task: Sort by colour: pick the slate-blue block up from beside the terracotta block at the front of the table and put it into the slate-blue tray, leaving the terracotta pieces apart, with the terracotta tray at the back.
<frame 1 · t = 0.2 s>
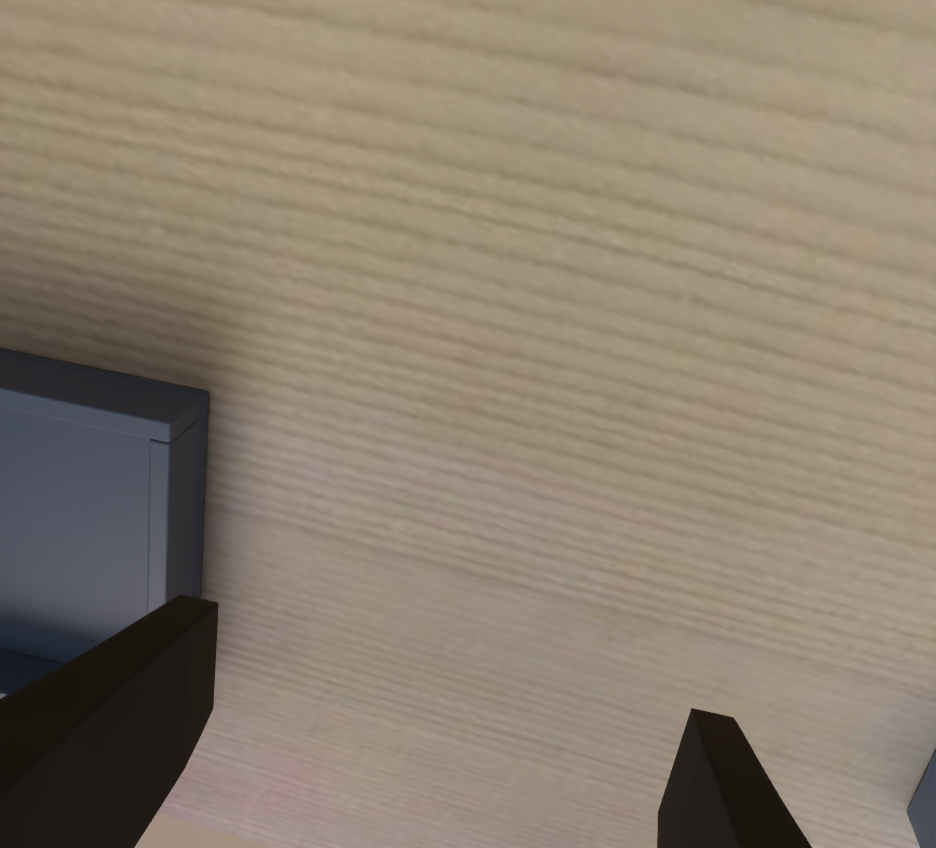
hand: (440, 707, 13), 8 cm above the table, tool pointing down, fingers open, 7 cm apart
blue tray: (35, 517, 23), on the table
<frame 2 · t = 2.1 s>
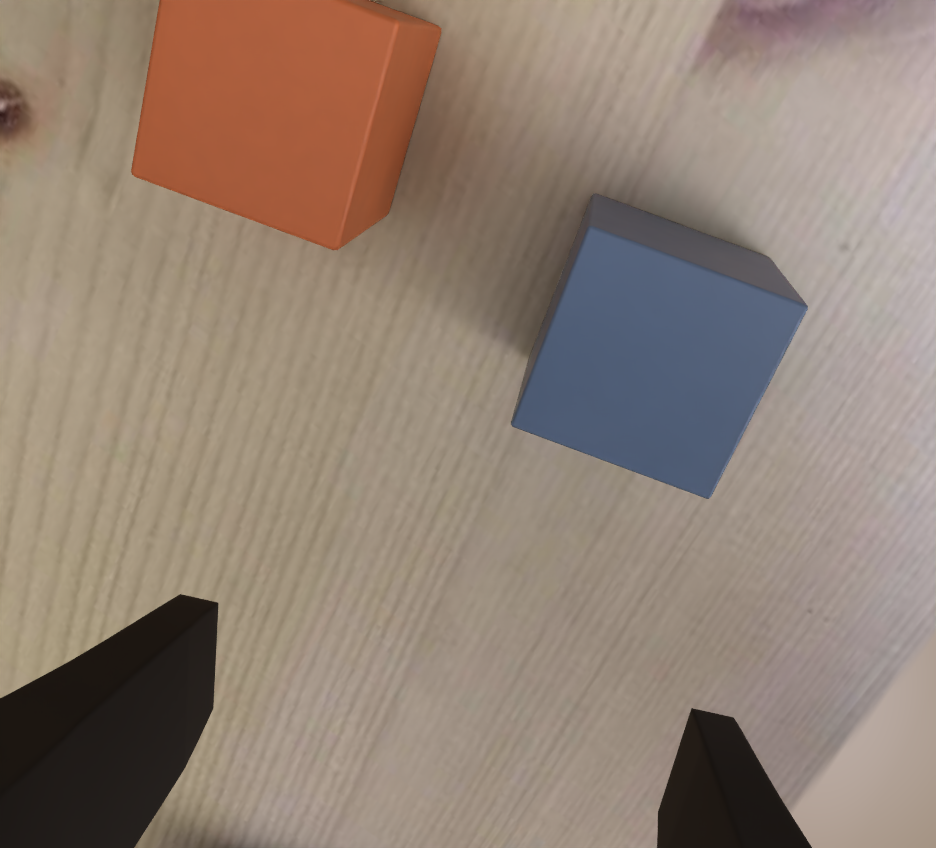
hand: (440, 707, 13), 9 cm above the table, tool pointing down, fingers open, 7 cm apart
terracotta block: (326, 93, 19), on the table
blue block: (644, 311, 20), on the table
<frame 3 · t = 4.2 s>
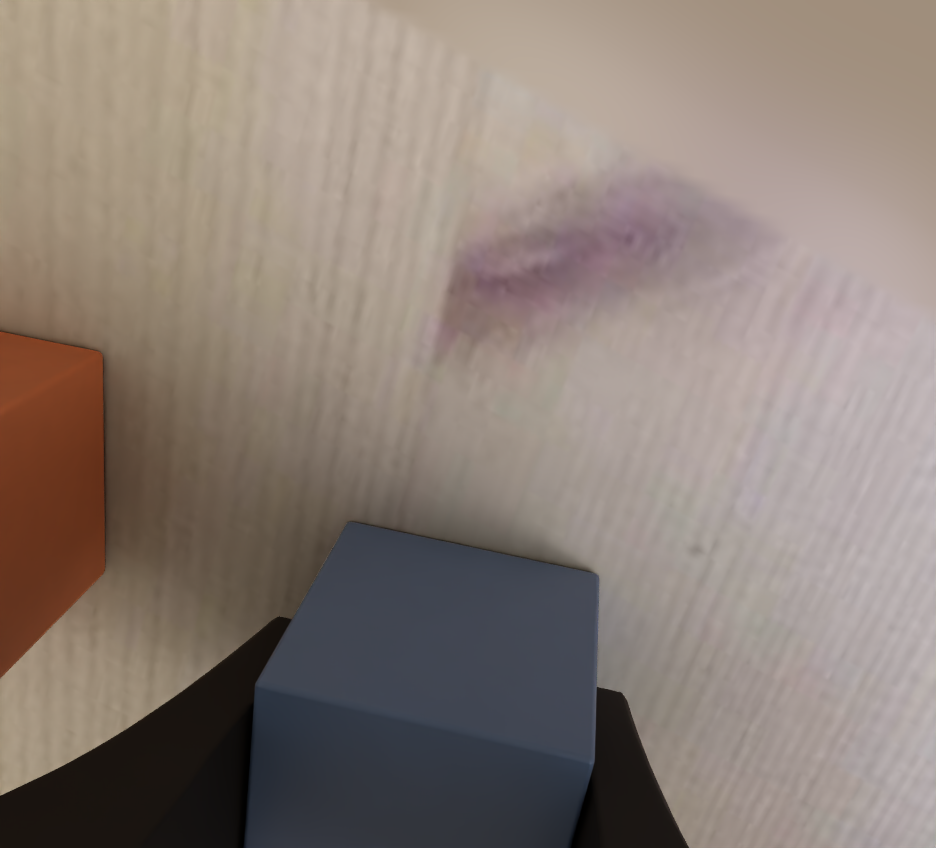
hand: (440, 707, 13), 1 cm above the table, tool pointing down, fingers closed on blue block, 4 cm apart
blue block: (453, 649, 15), on the table, touching gripper
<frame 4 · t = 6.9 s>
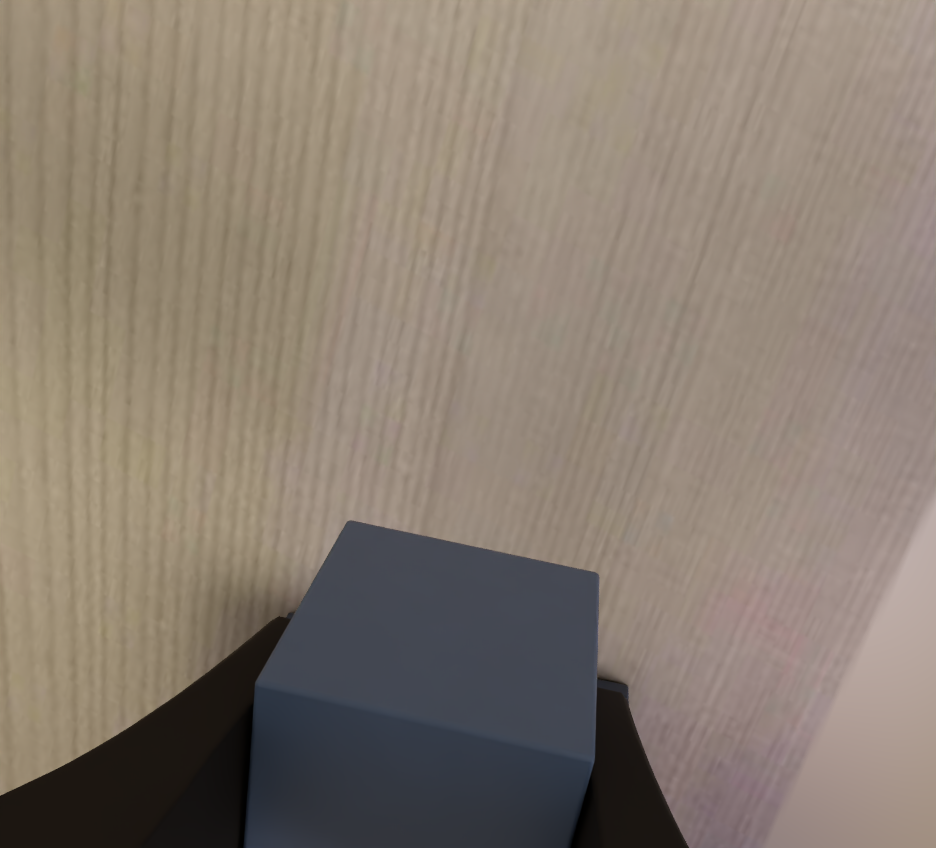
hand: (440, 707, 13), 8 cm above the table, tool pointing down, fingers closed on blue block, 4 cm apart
blue tray: (433, 777, 25), on the table
blue block: (453, 648, 15), point 7 cm above the table, touching gripper
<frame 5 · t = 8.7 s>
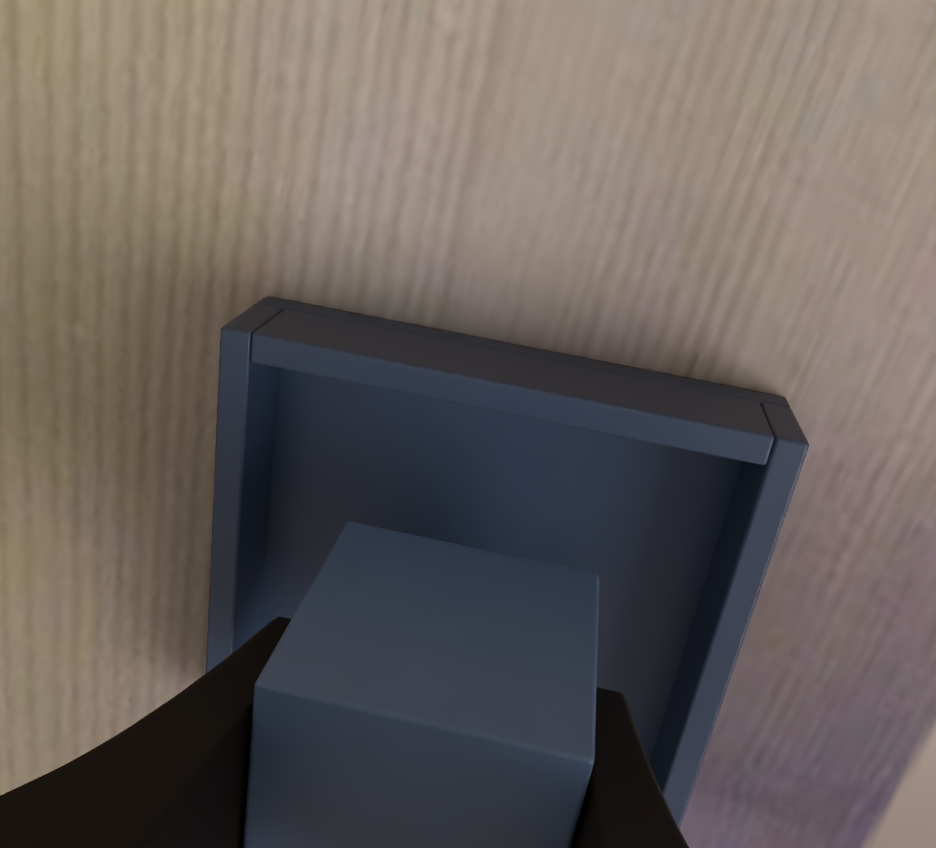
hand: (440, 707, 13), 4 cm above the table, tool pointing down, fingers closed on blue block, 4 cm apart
blue tray: (478, 567, 17), on the table
blue block: (453, 649, 15), point 3 cm above the table, touching gripper
when the fingers open (2 cm above the table, at t = 9.7 s): blue block stays where it is, resting on blue tray.
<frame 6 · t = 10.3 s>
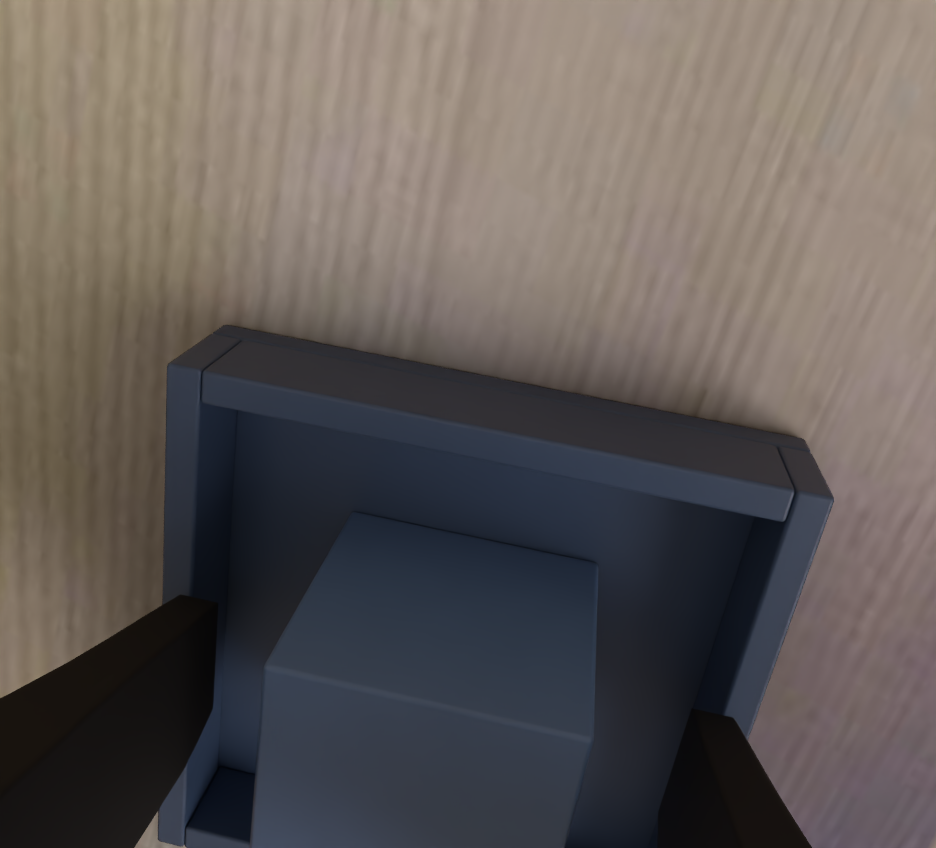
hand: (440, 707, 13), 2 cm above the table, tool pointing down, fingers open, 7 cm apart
blue tray: (463, 621, 15), on the table
blue block: (455, 637, 15), resting on blue tray
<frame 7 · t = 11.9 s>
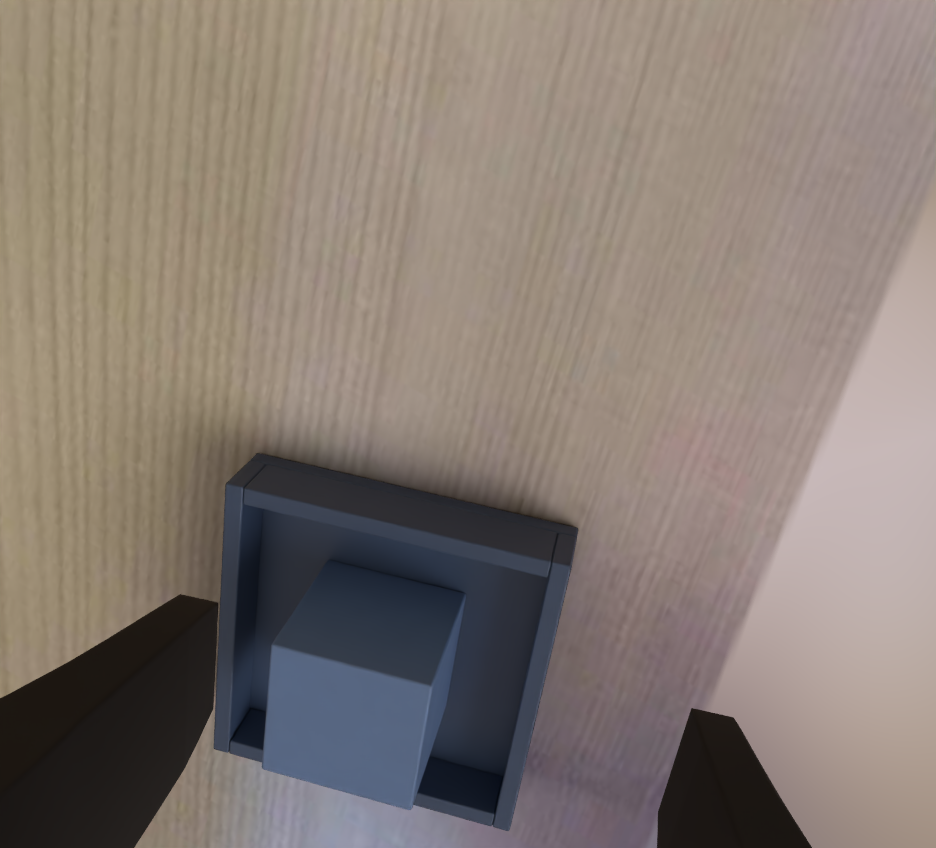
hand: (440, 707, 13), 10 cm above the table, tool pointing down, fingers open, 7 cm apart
blue tray: (394, 624, 26), on the table
blue block: (388, 634, 25), resting on blue tray
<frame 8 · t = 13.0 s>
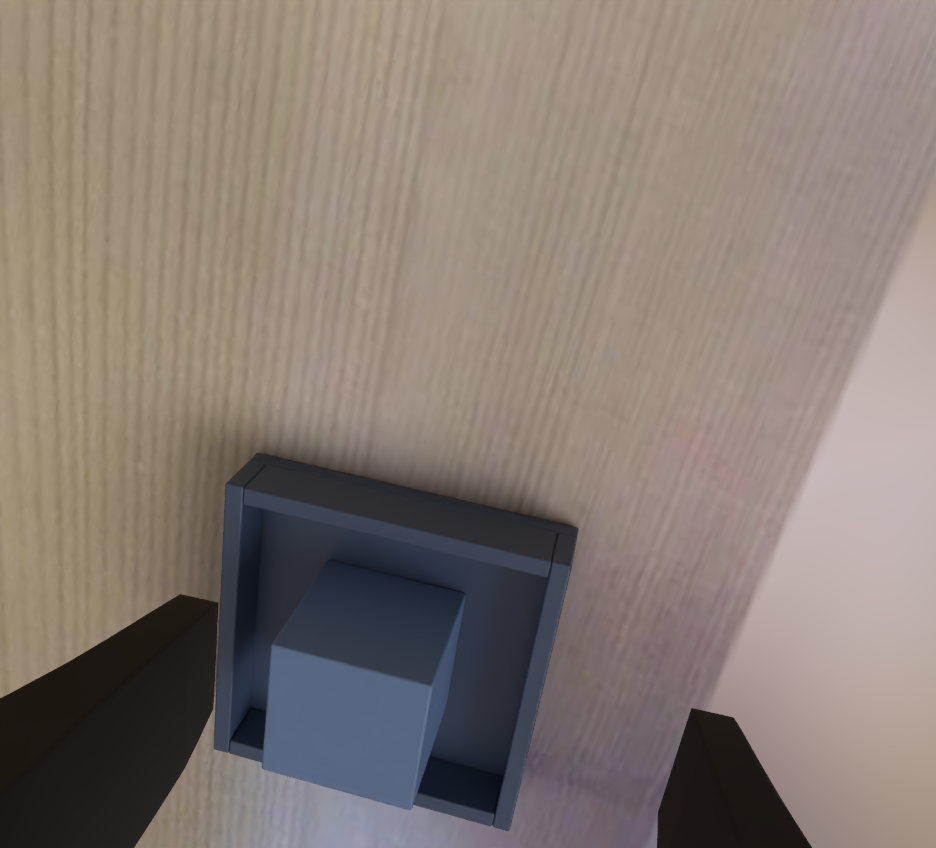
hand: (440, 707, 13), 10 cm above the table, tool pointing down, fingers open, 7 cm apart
blue tray: (394, 624, 26), on the table
blue block: (388, 634, 25), resting on blue tray
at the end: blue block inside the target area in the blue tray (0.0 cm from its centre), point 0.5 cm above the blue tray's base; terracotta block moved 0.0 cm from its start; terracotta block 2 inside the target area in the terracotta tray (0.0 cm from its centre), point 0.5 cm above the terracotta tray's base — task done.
